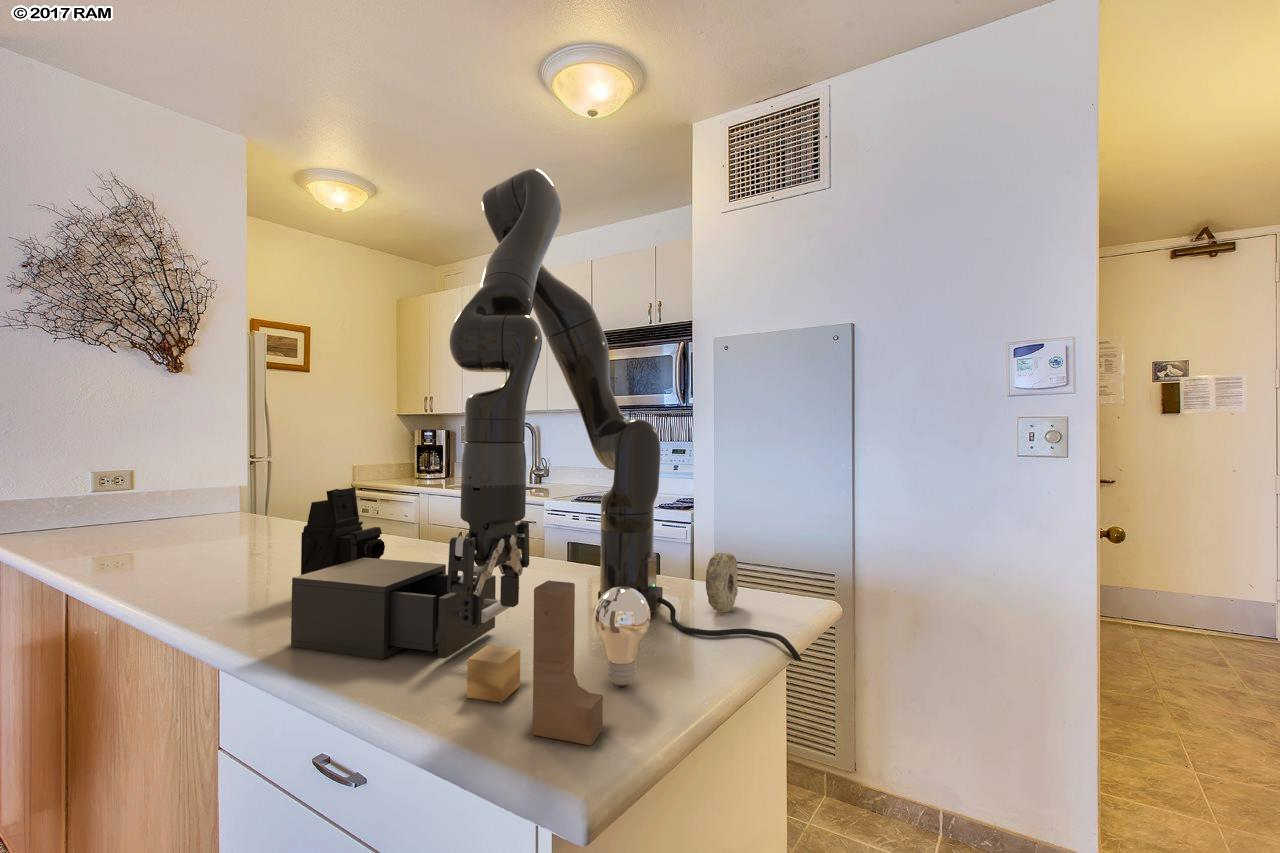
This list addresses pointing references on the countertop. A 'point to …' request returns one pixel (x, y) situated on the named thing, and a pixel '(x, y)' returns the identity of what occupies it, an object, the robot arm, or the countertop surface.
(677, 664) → the countertop surface
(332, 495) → the camera
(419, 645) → the pull-out drawer
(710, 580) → the stone ring
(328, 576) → the dark drawer cabinet
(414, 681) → the countertop surface
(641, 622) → the light bulb
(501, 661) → the cube
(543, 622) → the wooden block
